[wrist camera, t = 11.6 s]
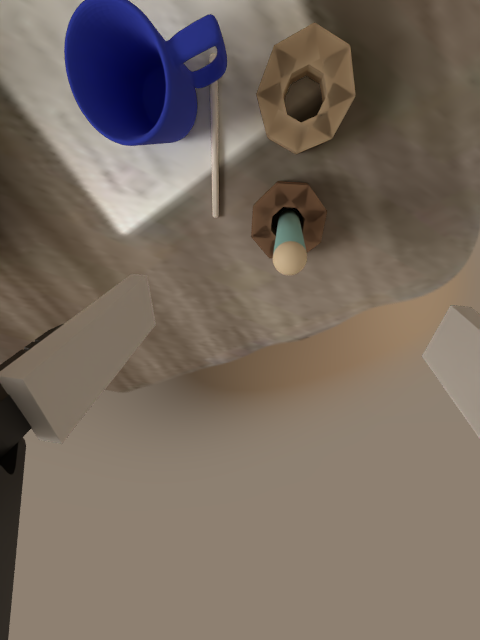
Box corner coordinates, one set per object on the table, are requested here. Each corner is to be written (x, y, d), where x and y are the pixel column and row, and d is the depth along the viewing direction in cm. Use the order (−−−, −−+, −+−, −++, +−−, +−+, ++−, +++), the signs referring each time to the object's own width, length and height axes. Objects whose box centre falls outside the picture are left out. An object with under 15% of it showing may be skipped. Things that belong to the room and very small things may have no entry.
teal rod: (277, 228, 32) (270, 278, 18) (279, 207, 31) (274, 244, 17) (297, 230, 32) (304, 282, 18) (300, 209, 30) (311, 247, 17)
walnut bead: (253, 248, 34) (250, 256, 31) (257, 180, 29) (254, 182, 26) (313, 253, 33) (316, 262, 30) (327, 183, 28) (332, 186, 26)
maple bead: (275, 163, 28) (273, 163, 25) (252, 72, 24) (247, 60, 22) (350, 131, 26) (359, 127, 23) (337, 25, 22) (345, 4, 19)
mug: (251, 117, 26) (235, 97, 18) (155, 161, 30) (105, 161, 22) (224, 7, 23) (187, -82, 14) (118, 73, 26) (39, 32, 18)
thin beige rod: (219, 217, 32) (218, 218, 32) (213, 216, 32) (212, 218, 32) (218, 54, 24) (216, 51, 24) (210, 54, 24) (208, 51, 24)
